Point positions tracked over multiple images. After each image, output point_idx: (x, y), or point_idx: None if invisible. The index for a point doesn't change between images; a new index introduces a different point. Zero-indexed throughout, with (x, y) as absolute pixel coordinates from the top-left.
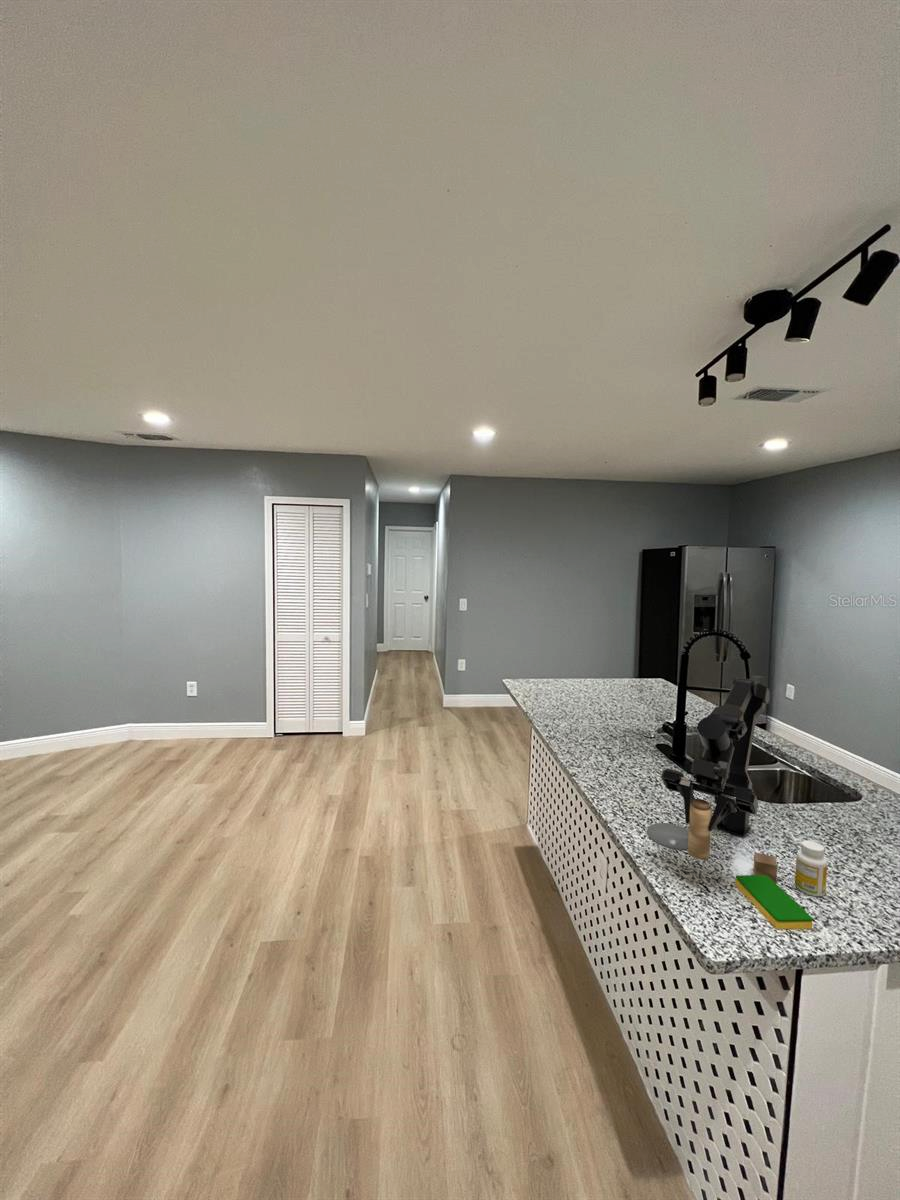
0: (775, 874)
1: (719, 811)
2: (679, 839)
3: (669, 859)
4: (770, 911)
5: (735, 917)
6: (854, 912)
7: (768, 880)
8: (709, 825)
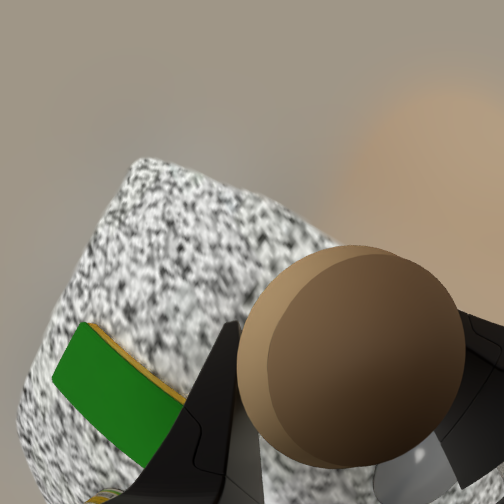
0: None
1: (173, 436)
2: (413, 463)
3: None
4: (97, 338)
5: (155, 288)
6: (58, 475)
7: None
8: (235, 331)
